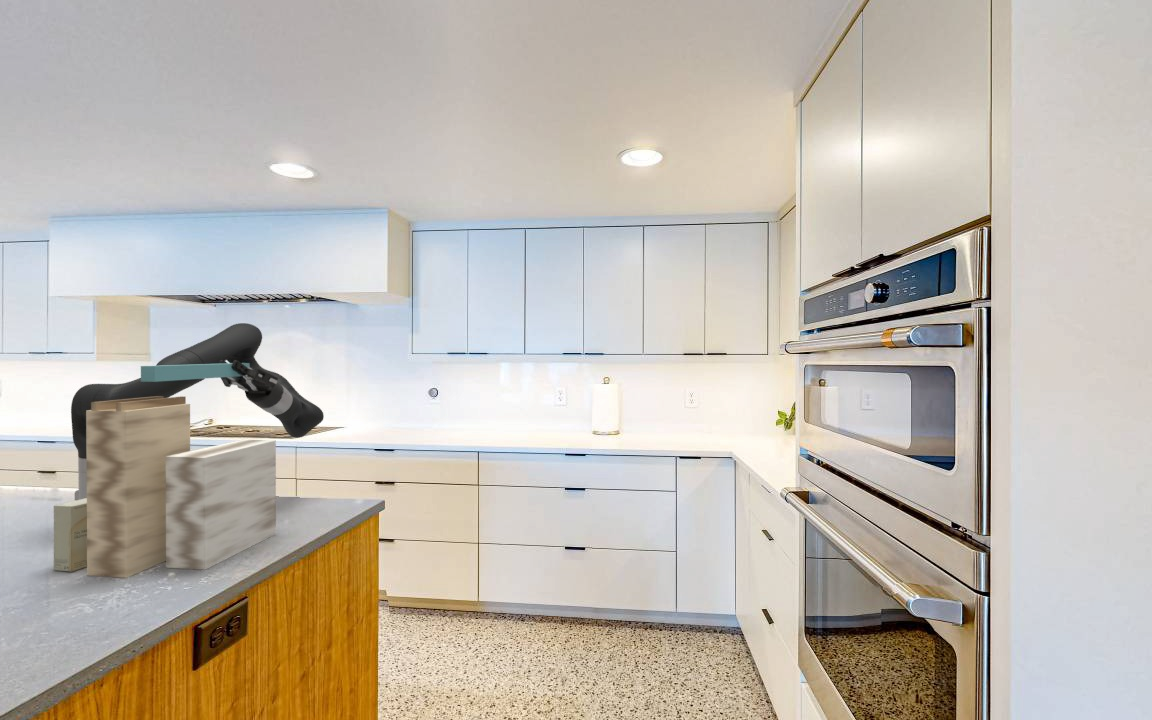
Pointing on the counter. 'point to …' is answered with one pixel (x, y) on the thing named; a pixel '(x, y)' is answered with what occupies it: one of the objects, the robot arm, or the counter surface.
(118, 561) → the stepped wooden blocks
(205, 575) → the counter surface
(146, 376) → the rod
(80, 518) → the skincare box
